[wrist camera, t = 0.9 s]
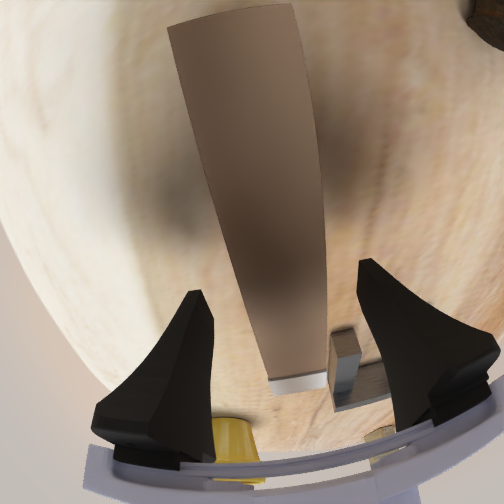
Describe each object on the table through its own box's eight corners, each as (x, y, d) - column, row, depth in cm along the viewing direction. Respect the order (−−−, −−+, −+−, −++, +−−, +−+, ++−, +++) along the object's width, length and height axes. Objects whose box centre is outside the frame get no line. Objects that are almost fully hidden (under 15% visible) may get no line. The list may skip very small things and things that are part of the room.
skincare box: (380, 427, 44) (391, 474, 34) (393, 424, 45) (404, 469, 35) (363, 436, 48) (372, 480, 38) (376, 434, 49) (385, 476, 39)
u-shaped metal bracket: (428, 307, 20) (446, 341, 17) (406, 359, 25) (417, 387, 22) (330, 333, 21) (341, 375, 18) (327, 380, 26) (334, 412, 23)
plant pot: (197, 431, 37) (195, 484, 29) (184, 411, 31) (179, 477, 23) (261, 431, 37) (264, 485, 29) (262, 411, 31) (267, 479, 23)
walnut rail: (273, 31, 9) (294, 1, 5) (313, 329, 21) (325, 387, 16) (193, 47, 9) (163, 26, 5) (268, 337, 21) (273, 396, 17)
